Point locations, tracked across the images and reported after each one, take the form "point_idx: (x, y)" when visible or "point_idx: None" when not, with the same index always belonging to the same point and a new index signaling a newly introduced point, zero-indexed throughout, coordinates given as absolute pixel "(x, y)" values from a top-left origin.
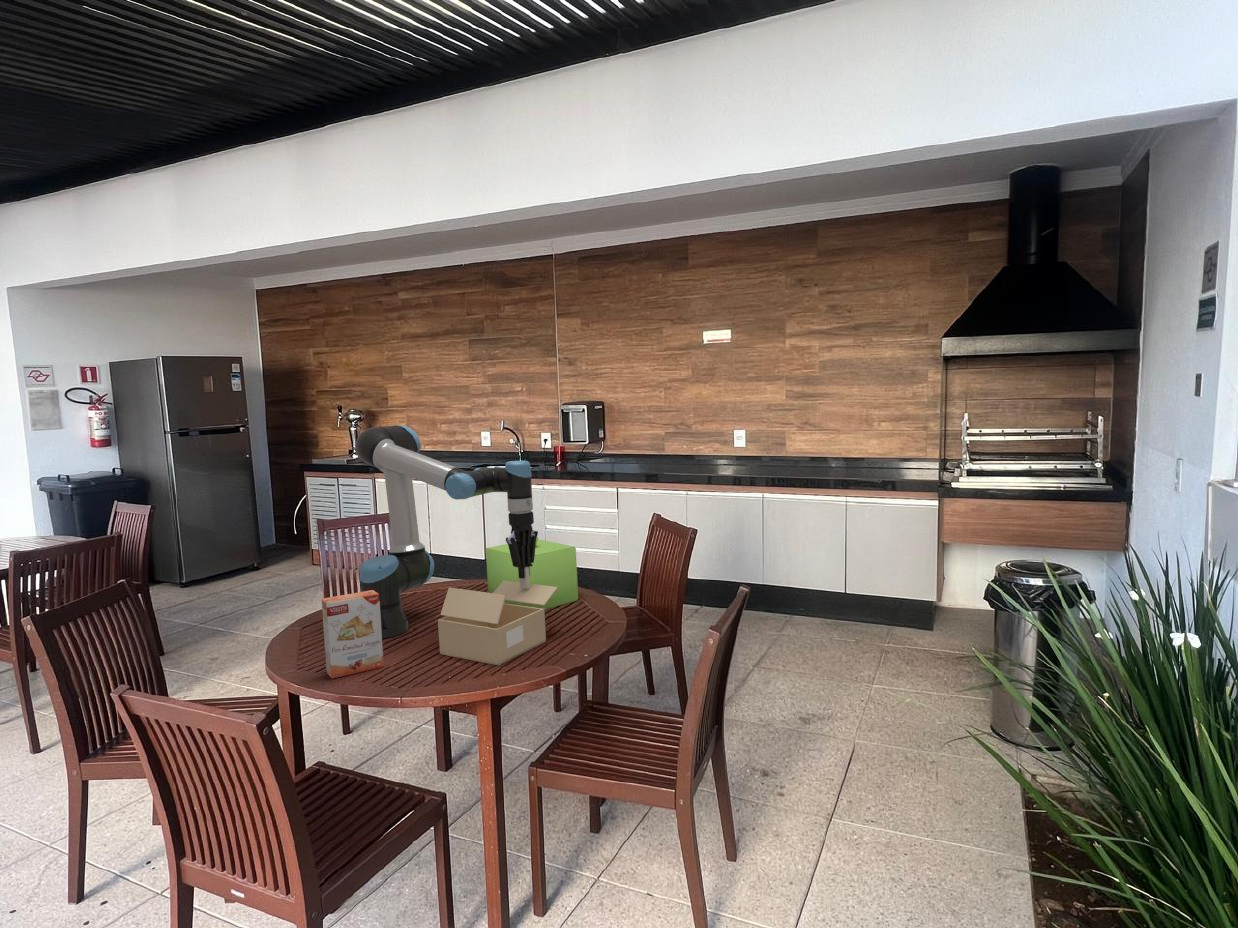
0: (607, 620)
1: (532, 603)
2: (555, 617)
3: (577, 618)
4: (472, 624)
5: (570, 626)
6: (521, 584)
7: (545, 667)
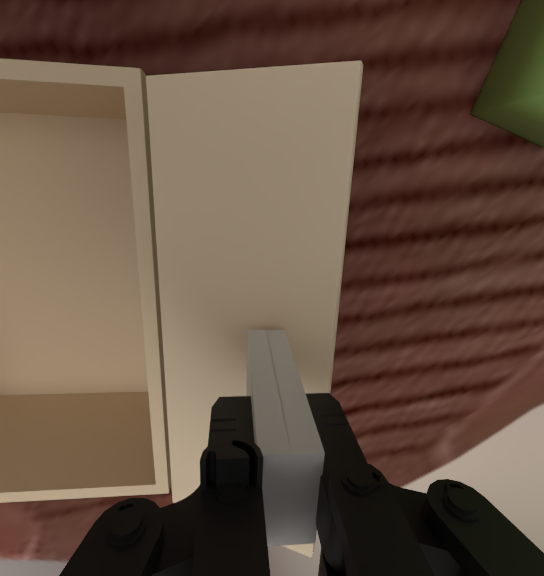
0: (450, 435)
1: (170, 438)
2: (444, 261)
3: (450, 341)
4: (11, 101)
5: (361, 370)
6: (248, 359)
7: (9, 513)
